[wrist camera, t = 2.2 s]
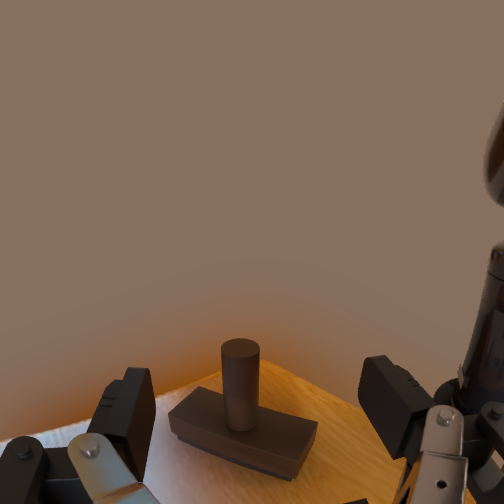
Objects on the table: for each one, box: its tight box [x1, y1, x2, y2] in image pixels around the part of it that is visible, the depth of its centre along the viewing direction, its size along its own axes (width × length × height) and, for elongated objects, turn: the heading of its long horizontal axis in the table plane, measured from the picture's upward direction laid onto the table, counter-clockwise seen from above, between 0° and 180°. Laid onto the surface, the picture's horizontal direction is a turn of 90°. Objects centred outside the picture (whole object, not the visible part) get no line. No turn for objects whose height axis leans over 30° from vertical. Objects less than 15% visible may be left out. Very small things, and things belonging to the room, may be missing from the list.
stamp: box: [168, 339, 318, 481], centre depth 24 cm, size 5×12×11 cm, turn 64°
